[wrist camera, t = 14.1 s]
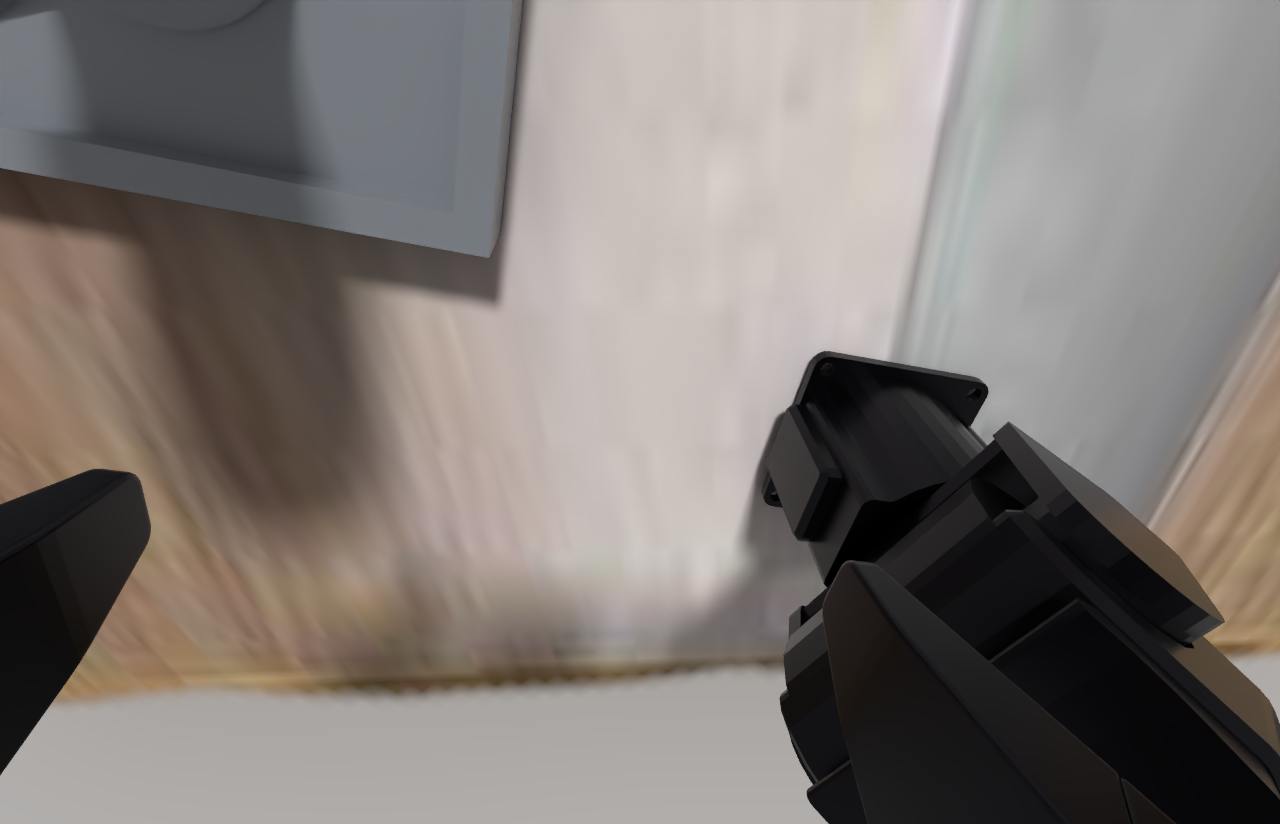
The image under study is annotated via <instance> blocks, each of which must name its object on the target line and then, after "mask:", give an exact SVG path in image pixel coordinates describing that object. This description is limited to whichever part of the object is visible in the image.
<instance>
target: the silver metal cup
mask: <svg viewBox="0 0 1280 824" xmlns="http://www.w3.org/2000/svg"><path fill="white" fill-rule="evenodd" d="M263 1H264V0H0V26H1V25H5V24H8V23H11V22H14V21H18V20H21V19H24V18H28V17H31V16H34V15H38V14H42V13H46V12H50V11H54V10H58V9H62V8H74V7H86V8H96V9H100V10H103V11H106V12H109V13H112V14H115V15H118V16H121V17H124V18H127V19H130V20H133V21H136V22H139V23H143V24H146V25H150V26H153V27H157V28H162V29H168V30H175V31H188V32H194V31H205V30H211V29H215V28H219V27H222V26H225V25H228V24H230V23H233V22H235V21H237V20H239V19H241V18H243V17H245V16H246V15H248V14H249V13H251V12H252V11H253V10H255V9H256V8H257V7H258V6H259V5H260V4H261V3H262V2H263Z"/></svg>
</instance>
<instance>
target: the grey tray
mask: <svg viewBox="0 0 1280 824" xmlns="http://www.w3.org/2000/svg"><path fill="white" fill-rule="evenodd" d="M522 4H523V0H264V1H263V2H262V3H261V4H260V5H259V6H258V7H257V8H256V9H255V10H253V11H252V12H251V13H249V14H248V15H246V16H245V17H243V18H241V19H239V20H237V21H235V22H233V23H230V24H228V25H225V26H222V27H219V28H215V29H211V30H205V31H194V32H188V31H175V30H168V29H162V28H157V27H153V26H150V25H146V24H143V23H139V22H136V21H133V20H130V19H127V18H124V17H121V16H118V15H115V14H112V13H109V12H106V11H103V10H100V9H96V8H86V7H74V8H62V9H58V10H54V11H50V12H46V13H42V14H38V15H34V16H31V17H28V18H24V19H21V20H18V21H14V22H11V23H8V24H5V25H1V26H0V168H3V169H8V170H14V171H19V172H25V173H30V174H36V175H41V176H46V177H52V178H57V179H63V180H68V181H74V182H79V183H84V184H90V185H95V186H101V187H106V188H112V189H117V190H122V191H128V192H133V193H139V194H144V195H149V196H155V197H160V198H166V199H171V200H177V201H182V202H187V203H193V204H198V205H204V206H209V207H215V208H220V209H225V210H231V211H236V212H242V213H247V214H253V215H258V216H263V217H269V218H274V219H280V220H285V221H291V222H296V223H301V224H307V225H312V226H318V227H323V228H328V229H334V230H339V231H345V232H350V233H356V234H361V235H366V236H372V237H377V238H383V239H388V240H394V241H399V242H404V243H410V244H415V245H421V246H426V247H432V248H437V249H442V250H448V251H453V252H459V253H464V254H470V255H475V256H480V257H486V258H489V257H490V254H491V252H492V250H493V248H494V246H495V244H496V242H497V240H498V238H499V236H500V228H501V218H502V207H503V197H504V187H505V177H506V167H507V156H508V146H509V136H510V126H511V116H512V106H513V95H514V85H515V75H516V65H517V55H518V44H519V34H520V24H521V14H522Z"/></svg>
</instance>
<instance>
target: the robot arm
mask: <svg viewBox="0 0 1280 824" xmlns="http://www.w3.org/2000/svg"><path fill="white" fill-rule="evenodd" d="M826 363H832V365H831V367H830V368H829V369H828V370H826V371H821V367H822V366H823V365H824V364H826ZM972 389H975V391H974V392H973V393H972V394H970V395H967V394H968V392H969V391H970V390H972ZM987 395H988V387H987V386H986V385H985V384H984V383H983V382H982V381H981V380H980V379H978V378H976V377H972V376H966V375H960V374H955V373H949V372H943V371H938V370H932V369H926V368H921V367H915V366H909V365H904V364H898V363H892V362H887V361H881V360H875V359H870V358H864V357H858V356H853V355H847V354H841V353H836V352H830V351H824V352H821V353H818V354H817V355H816V356H815V357H813V359H812V361H811V362H810V365H809V368H808V370H807V373H806V375H805V378H804V380H803V383H802V386H801V388H800V391H799V393H798V396H797V399H796V401H795V404H792V405H791V406H790V407H789V408H787V410H786V412H785V415H784V418H783V420H782V423H781V425H780V428H779V431H778V433H777V436H776V438H775V441H774V444H773V446H772V449H771V452H770V454H769V457H768V459H767V467H768V469H769V471H768V473H767V476H766V479H765V481H764V484H763V486H762V491H761V492H762V495H763V498H764V501H765V503H767V504H768V505H770V506H775V507H782V508H783V509H784V512H785V514H786V517H787V520H788V522H789V525H790V527H791V530H792V533H793V534H794V536H795V537H796V538H797V540H798V541H806V542H808V545H809V547H810V550H811V552H812V555H813V557H814V560H815V562H816V565H817V567H818V570H819V572H820V575H821V577H822V580H823V582H824V584H825V586H826V587H828V588H826V589H825V590H824V591H823V592H822V593H821V594H820V595H818V596H817V597H816V598H815V599H814V600H813V601H812V602H811V603H809V604H808V605H807V606H806V607H805V606H801V607H800V608H799V609H797V610H796V611H795V612H794V613H793V614H792V615H791V616H790V618H789V641H788V644H787V647H786V650H785V653H784V666H785V678H786V686H787V690H786V691H784V692H783V693H782V694H781V696H780V705H781V711H782V714H783V717H784V720H785V723H786V725H787V728H788V731H789V734H790V738H791V742H792V744H793V747H794V749H795V752H796V754H797V757H798V759H799V761H800V763H801V765H802V767H803V769H804V770H805V772H806V774H807V776H808V777H809V779H810V781H811V782H812V783H813V786H811V787H810V788H809V789H808V790H807V797H808V800H809V802H810V803H811V805H813V807H814V808H815V809H816V810H817V811H818V812H819V814H820V815H821V816H822V817H823V818H824V819H825V820H826V821H827V822H828V823H829V824H1280V723H1279V721H1278V718H1277V715H1276V712H1275V710H1274V708H1273V707H1272V705H1271V703H1270V701H1269V699H1267V697H1266V696H1265V695H1264V694H1263V693H1262V692H1261V690H1260V689H1259V688H1258V687H1257V686H1256V685H1254V684H1253V683H1252V682H1251V681H1250V680H1249V679H1248V678H1247V677H1246V676H1245V675H1244V674H1243V673H1241V672H1240V671H1239V670H1238V669H1237V668H1236V667H1235V666H1234V665H1233V664H1232V663H1231V662H1230V661H1229V660H1228V659H1227V658H1226V657H1225V656H1224V655H1223V654H1222V653H1220V652H1219V651H1218V650H1217V649H1216V648H1215V647H1214V646H1213V645H1212V644H1211V643H1210V642H1209V641H1208V640H1207V639H1206V638H1204V637H1203V635H1205V634H1207V633H1208V632H1210V631H1211V630H1213V629H1215V628H1216V627H1218V626H1219V625H1221V624H1223V623H1224V622H1225V621H1224V618H1223V617H1222V615H1221V614H1220V612H1219V611H1218V610H1217V608H1216V607H1215V605H1214V604H1213V603H1212V601H1211V600H1210V598H1209V597H1208V596H1207V594H1206V593H1205V591H1204V590H1203V589H1202V587H1201V586H1200V584H1199V583H1198V582H1197V580H1196V579H1195V577H1194V576H1193V575H1192V573H1191V572H1190V571H1189V569H1188V568H1187V566H1186V565H1185V564H1184V562H1183V561H1182V559H1181V558H1180V557H1179V556H1178V555H1177V554H1176V553H1175V552H1174V551H1173V550H1172V549H1171V548H1170V547H1169V546H1168V545H1166V544H1165V543H1164V542H1163V541H1162V540H1161V539H1160V538H1158V537H1157V536H1156V535H1155V534H1154V533H1153V532H1152V531H1150V530H1149V529H1148V528H1147V527H1146V526H1145V525H1144V524H1142V523H1141V522H1140V521H1139V520H1138V519H1137V518H1136V517H1134V516H1133V515H1132V514H1131V513H1130V512H1129V511H1128V510H1126V509H1125V508H1124V507H1123V506H1122V505H1121V504H1120V503H1118V502H1117V501H1116V500H1115V499H1114V498H1113V497H1111V496H1110V495H1109V494H1108V493H1106V492H1105V491H1104V490H1102V489H1101V488H1100V487H1098V486H1097V485H1095V484H1094V483H1093V482H1091V481H1090V480H1089V479H1087V478H1086V477H1084V476H1083V475H1082V474H1080V473H1079V472H1078V471H1076V470H1075V469H1073V468H1072V467H1071V466H1069V465H1068V464H1067V463H1065V462H1064V461H1062V460H1061V459H1060V458H1058V457H1057V456H1056V455H1054V454H1053V453H1051V452H1050V451H1049V450H1047V449H1046V448H1045V447H1043V446H1042V445H1040V444H1039V443H1038V442H1036V441H1035V440H1034V439H1032V438H1031V437H1029V436H1028V435H1027V434H1025V433H1024V432H1023V431H1021V430H1020V429H1018V428H1017V427H1016V426H1014V425H1013V424H1012V423H1010V422H1008V423H1006V424H1005V425H1004V426H1003V427H1002V428H1001V429H1000V430H999V431H997V432H996V433H995V434H994V435H993V437H994V438H995V440H994V441H992V442H991V443H990V444H989V445H988V446H987V445H986V444H985V442H984V441H983V440H982V439H981V438H980V437H979V436H978V435H977V434H976V433H975V432H974V431H973V429H972V428H971V427H970V426H971V424H972V423H973V421H974V419H975V417H976V415H977V414H978V412H979V410H980V408H981V407H982V405H983V403H984V401H985V399H986V398H987ZM774 491H777V493H778V494H776V495H771V494H772V493H773V492H774ZM150 533H151V523H150V519H149V515H148V510H147V506H146V502H145V498H144V493H143V489H142V485H141V482H140V480H139V478H138V477H137V476H136V475H135V474H132V473H130V472H124V471H116V470H107V469H92V470H89V471H86V472H83V473H81V474H78V475H75V476H73V477H70V478H68V479H65V480H62V481H60V482H57V483H55V484H52V485H50V486H47V487H44V488H42V489H39V490H37V491H34V492H31V493H29V494H26V495H24V496H21V497H19V498H16V499H13V500H11V501H8V502H6V503H3V504H0V775H1V774H2V772H3V771H4V769H5V768H6V767H7V765H8V764H9V762H10V761H11V760H12V758H13V757H14V755H15V754H16V752H17V751H18V750H19V748H20V746H21V745H22V744H23V743H24V741H25V740H26V738H27V737H28V736H29V734H30V733H31V731H32V730H33V729H34V727H35V726H36V724H37V723H38V722H39V720H40V719H41V717H42V716H43V714H44V713H45V712H46V710H47V709H48V707H49V706H50V705H51V703H52V702H53V700H54V699H55V698H56V696H57V695H58V693H59V692H60V691H61V689H62V688H63V686H64V685H65V684H66V682H67V681H68V679H69V678H70V676H71V675H72V673H73V672H74V670H75V669H76V667H77V666H78V664H79V663H80V661H81V660H82V658H83V656H84V655H85V653H86V652H87V650H88V648H89V647H90V645H91V643H92V642H93V640H94V638H95V636H96V635H97V633H98V631H99V629H100V627H101V626H102V624H103V622H104V620H105V619H106V617H107V615H108V613H109V611H110V610H111V608H112V606H113V604H114V603H115V601H116V599H117V597H118V595H119V594H120V592H121V590H122V588H123V587H124V585H125V583H126V581H127V579H128V578H129V576H130V574H131V572H132V571H133V569H134V567H135V565H136V563H137V562H138V560H139V558H140V556H141V555H142V553H143V551H144V549H145V547H146V545H147V543H148V541H149V538H150Z"/></svg>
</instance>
